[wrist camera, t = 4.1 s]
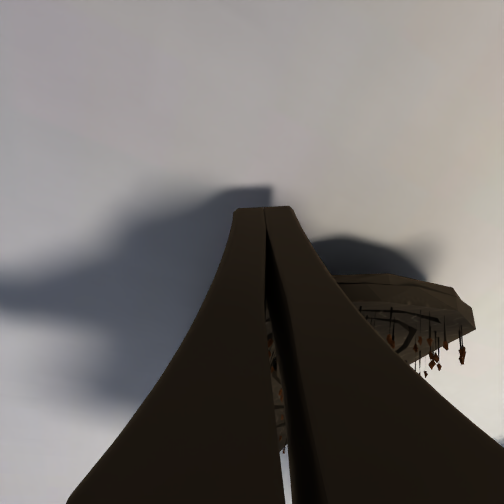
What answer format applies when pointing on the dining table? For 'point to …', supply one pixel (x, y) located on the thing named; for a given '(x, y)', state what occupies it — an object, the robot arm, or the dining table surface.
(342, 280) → the hairbrush
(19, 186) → the dining table surface
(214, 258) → the dining table surface
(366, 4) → the dining table surface
